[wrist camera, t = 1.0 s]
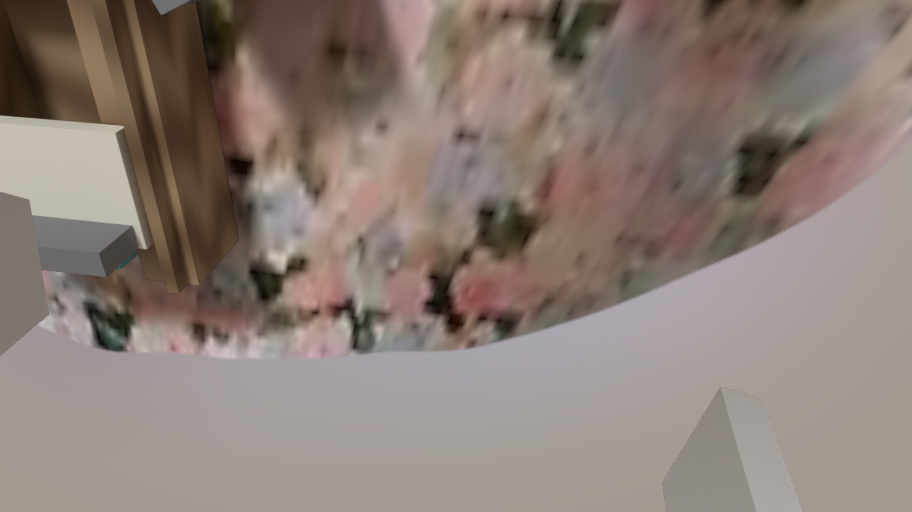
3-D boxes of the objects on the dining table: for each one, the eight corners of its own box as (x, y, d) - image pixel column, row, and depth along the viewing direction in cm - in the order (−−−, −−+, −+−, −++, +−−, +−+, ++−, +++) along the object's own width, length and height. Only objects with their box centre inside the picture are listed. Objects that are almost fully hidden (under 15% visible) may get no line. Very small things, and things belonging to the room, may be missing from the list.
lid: (-61, 110, 35) (-128, 137, 31) (126, 126, 34) (77, 155, 30) (-14, 222, 38) (-70, 257, 35) (156, 240, 37) (115, 278, 34)
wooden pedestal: (-74, -85, 35) (-194, -75, 29) (182, -74, 33) (105, -61, 28) (37, 219, 45) (-36, 268, 40) (238, 240, 43) (190, 294, 38)
